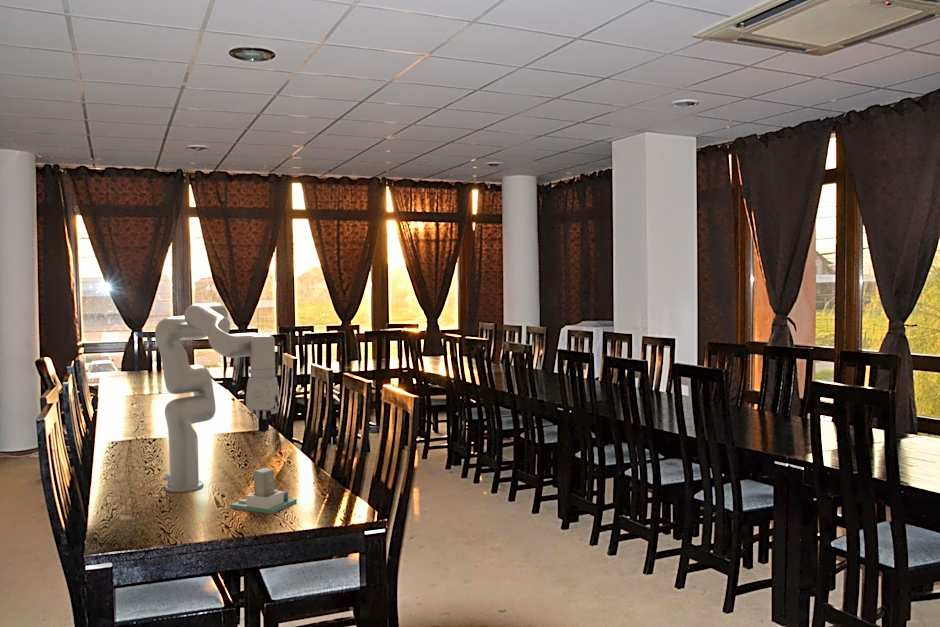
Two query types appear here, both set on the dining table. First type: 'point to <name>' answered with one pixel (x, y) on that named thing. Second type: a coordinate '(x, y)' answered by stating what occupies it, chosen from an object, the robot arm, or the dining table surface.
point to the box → (264, 482)
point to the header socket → (265, 500)
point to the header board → (243, 506)
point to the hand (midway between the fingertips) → (263, 430)
